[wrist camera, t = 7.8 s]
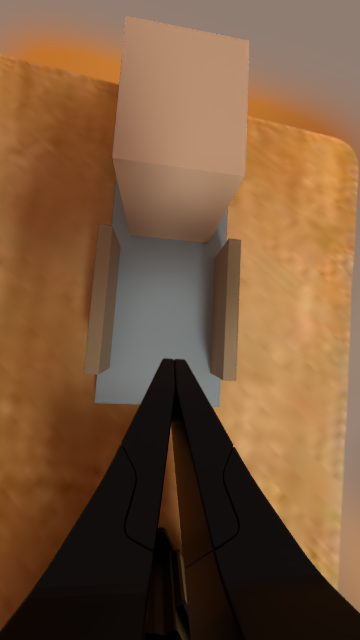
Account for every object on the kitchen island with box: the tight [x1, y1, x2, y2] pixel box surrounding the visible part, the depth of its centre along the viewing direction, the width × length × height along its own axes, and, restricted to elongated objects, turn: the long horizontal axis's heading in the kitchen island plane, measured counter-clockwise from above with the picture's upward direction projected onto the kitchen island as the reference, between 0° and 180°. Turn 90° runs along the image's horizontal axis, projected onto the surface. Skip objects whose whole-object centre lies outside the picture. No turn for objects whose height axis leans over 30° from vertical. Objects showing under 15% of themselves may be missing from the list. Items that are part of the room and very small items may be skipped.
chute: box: [84, 177, 241, 407], centre depth 20 cm, size 26×11×5 cm, turn 176°
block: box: [112, 16, 249, 243], centre depth 18 cm, size 9×8×9 cm
